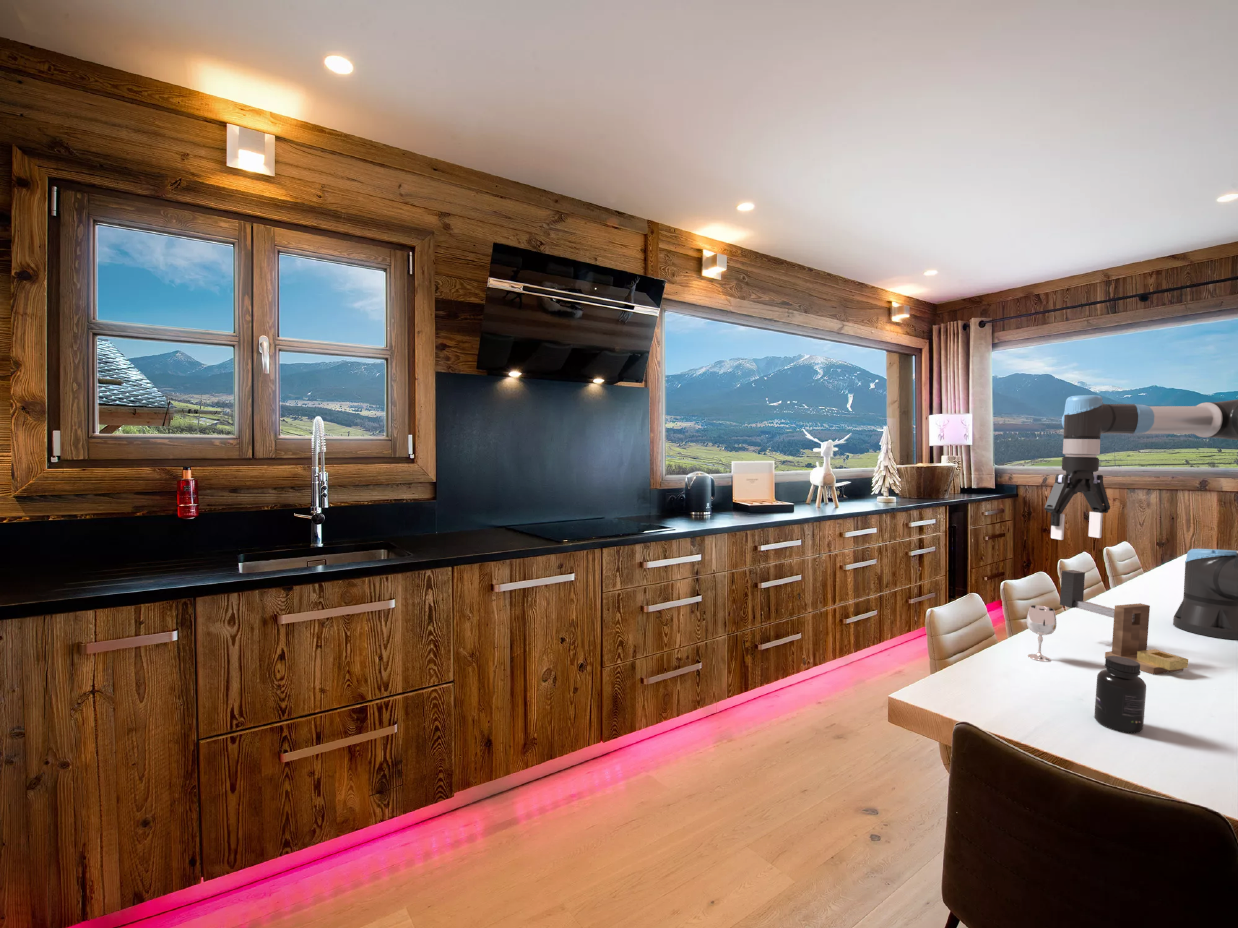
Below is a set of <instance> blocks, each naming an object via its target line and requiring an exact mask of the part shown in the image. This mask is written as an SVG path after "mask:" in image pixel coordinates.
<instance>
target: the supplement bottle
mask: <svg viewBox="0 0 1238 928" xmlns="http://www.w3.org/2000/svg"><path fill="white" fill-rule="evenodd" d="M1104 668H1105V669H1103V670H1100V671H1099V672H1098V673H1097V675H1096V686H1095V687H1096V688H1095V698H1094V699H1095V702H1094V716H1093V717H1094V719H1095V721H1096V722H1097V723H1098V724H1100V725H1101V726H1103V727H1105V728H1107V729H1109V730H1110V729H1111V730H1113V731H1115V732H1120V733H1125V734H1139V733H1142V731H1143V730H1144V722H1145V710H1146V709H1145V708H1146V697H1147V684H1146V682H1145V681H1144V680H1143V679H1142V678H1141V677H1139V676H1140V675H1141V673H1142V672H1141V670H1140V663H1138V662H1137V661H1134V660H1132V659H1128V658H1124V657H1119V656H1107V657H1106V658H1105V663H1104Z"/></svg>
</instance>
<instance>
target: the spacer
mask: <svg viewBox="0 0 1238 928" xmlns="http://www.w3.org/2000/svg"><path fill="white" fill-rule="evenodd" d="M1137 660H1139V661H1142V662H1145V663H1148V664H1152V665H1155V666H1158V667H1161V668H1164V669H1167V670H1176V669H1183V670H1184V669H1188V668H1189V658H1186V657H1182V656H1179V655H1176V654H1173V653H1169V652H1165V651H1163V650H1160V649H1156V648H1154V649H1153V648H1152V649H1147V650H1143V651H1137Z"/></svg>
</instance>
